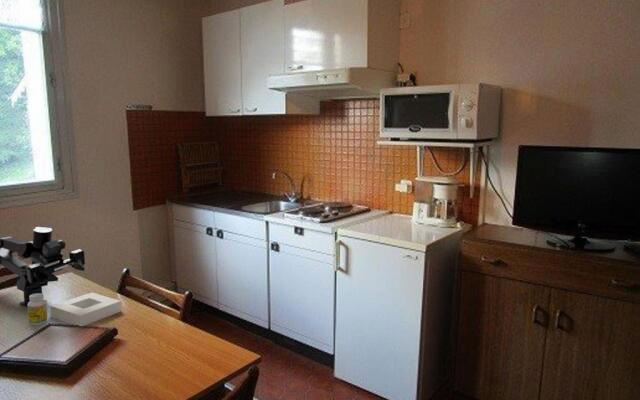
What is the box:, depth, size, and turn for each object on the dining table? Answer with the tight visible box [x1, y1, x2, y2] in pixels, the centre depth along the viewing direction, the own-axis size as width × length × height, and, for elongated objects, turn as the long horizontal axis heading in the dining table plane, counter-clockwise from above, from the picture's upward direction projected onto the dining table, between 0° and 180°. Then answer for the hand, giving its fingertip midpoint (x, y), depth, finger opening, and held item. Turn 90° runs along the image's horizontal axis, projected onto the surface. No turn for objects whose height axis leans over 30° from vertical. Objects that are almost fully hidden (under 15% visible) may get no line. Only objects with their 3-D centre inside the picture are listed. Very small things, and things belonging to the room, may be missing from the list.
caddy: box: [49, 292, 122, 326], centre depth 158 cm, size 16×16×4 cm
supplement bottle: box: [27, 292, 48, 326], centre depth 150 cm, size 5×5×10 cm
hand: (71, 274), depth 152 cm, fingers open, 9 cm apart
